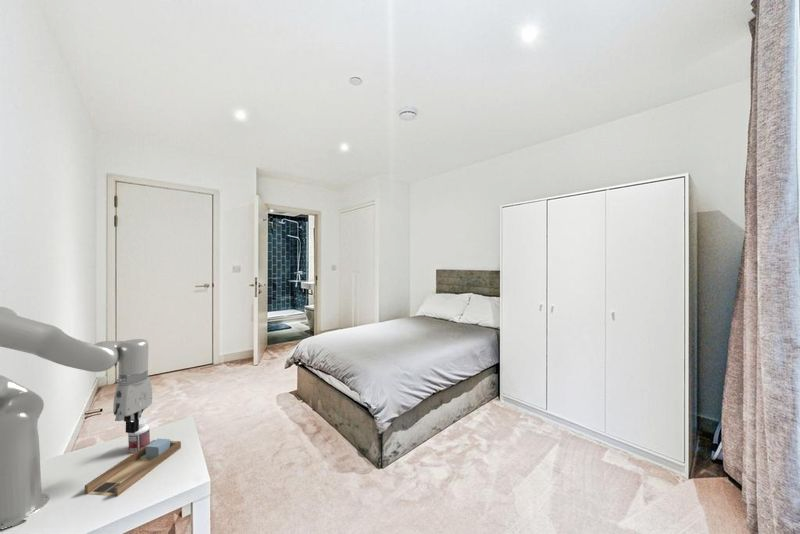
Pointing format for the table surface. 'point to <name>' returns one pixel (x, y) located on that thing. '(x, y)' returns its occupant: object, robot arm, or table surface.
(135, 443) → the pill bottle
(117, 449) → the table surface
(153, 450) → the block
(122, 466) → the box
